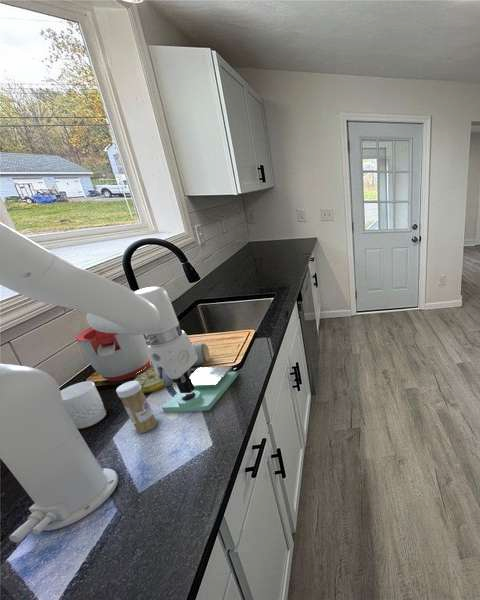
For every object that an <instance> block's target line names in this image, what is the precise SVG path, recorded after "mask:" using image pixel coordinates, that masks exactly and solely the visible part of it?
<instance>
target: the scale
mask: <svg viewBox="0 0 480 600" xmlns="http://www.w3.org/2000/svg"><path fill="white" fill-rule="evenodd" d="M237 377H238V372H237V371H229V372H228V374H227V375H226V376H225V377H224V378H223V379H222V380H221V381H220V383H219V384H218V385H217V386H198V387H194V388H195V389H194V390H192V391H193V393H194V395H195V396H194V398H192V399H190V400H187V401H185V400H184V399H183V394H184V393H180V391H179V390H178V392H176V393H175V394H174V396H173V397H171V398H170V399H169V400H168V401H167V402H166V404H164V405H163V406H162V410H163V413H173V412H174V413H175V412H177V413H179V412H203V411H204V412H206V411H210V410H211V409H212V408H213V407H214V405H215V404H216V403H217V402H218V401H219V399H220V398H221V397H222V396H223V394H224V393H225V392H226V391H227V390H228V388H229V387H230V386H231V385H232V384H233V382H234V381H235V380H236V378H237Z"/></svg>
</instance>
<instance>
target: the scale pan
mask: <svg viewBox="0 0 480 600" xmlns="http://www.w3.org/2000/svg"><path fill="white" fill-rule="evenodd" d="M232 369H233V366H214V367H211V366H209V367H198V368H197V369H196V370H195V371H194V372H192V373H191V377H190V378H191V380H192V383H193V385H194V387H198V386H217V385H218V384H219V383H220V381H221V380H222V379H223V378H224V377H225V376H226V375H227V374H228V372H231V370H232Z"/></svg>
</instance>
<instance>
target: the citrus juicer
mask: <svg viewBox="0 0 480 600" xmlns="http://www.w3.org/2000/svg"><path fill="white" fill-rule="evenodd" d="M75 340H76V341H78V343H79V345H80V347H81V349H82V351H83V352H84V354H85V357H86V358H87V360H88V362H89V364H90V365H91V367H92V368H93V369H94V371H96V372H97V373H98V374H99V375H100V376H101V377H102V378H103V379H105V380H106V379H107V381H109V382H119V381H123V380H124V381H125V380H127V379H130V378H133V377H135V376H139V375H140V374H142V373H144V372H145V370H147V369H148V367H150V362H151V358H150V354H149V348H148V347H149V345H147V344H146V341H147V340H146V337H145V335H144V334H142V335H131V334H116V333H105V332H100V331H97V330H95V329H93V328H92V327H90V326H89V327H88V328H86V329H83V330H81V331H80V332H79V333H78V334H77V335H76V336H75ZM148 364H149V365H148ZM145 367H146V368H145ZM144 368H145V369H144ZM143 369H144V370H143ZM141 370H142V371H141ZM139 371H140V372H139ZM137 372H139V373H137ZM136 373H137V374H136Z"/></svg>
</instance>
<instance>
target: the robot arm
mask: <svg viewBox="0 0 480 600" xmlns="http://www.w3.org/2000/svg"><path fill="white" fill-rule="evenodd" d="M0 286H2V287H5V288H6V289H8V290H11V291H13V292H15V293H17V294H19V295H21V296H23V297H26V298H28V299H31V300H34V301H38V302H41V303H44V304H48V305H53V306H58V307H63V308H68V309H73V310H77V311H81V312H85V313H86V319H85V320H86V322H87V324H88V325H89V328H90V327H92V328H93V329H95V330H97V331H100V332H105V333H116V334H131V335H142V334H143V335H144V337H145V340H146V344H147V345H148V348H149V358H150V362H151V364H152V367H153V369H154V370H155V372H156V374H157V376H158V378H159V379H160V380H162V379H163V383H164V385H166V386H171V385H173V384H176V386H177V388H178V392H179V391H180V393H191V392H192V390H194V389H195V388H194V385H193V383H192V380H191V378H190V377H191V375H192V371H191V370H192V367H193V366H192V365H193V364H194V363H195V362H196V361H197V359H198V357H197V354H196V351H195V349H194V347H193V345H192V344H193V343H192V341H191V339H190V338H189V336H188V334H187V333H186V332H185V331H184V330H182V328H181V325H180V322H179V319H178V318H177V314H176V312H175V309H174V306H173V305H172V301H171V299H170V295H169V294H168V292H167V290H166V289H165V287H162V286H149V287H144V288H140V289H137V290H135V291H134V290H132V289H131V288H129V287H126V286H125V285H123V284H120V283H119V282H116V281H114V280H111V279H109V278H106V277H104V276H102V275H99V274H97V273H94V272H92V271H90V270H88V269H85V268H83V267H80V266H77V265H75V264H73V263H71V262H68V261H67V260H65V259H64V258H62V257H60V256H58V255H56V254H55V253H53V252H52V251H50V250H48V249H46V247H45V248H44V247H43V246H41V245H39V244H38V243H36V242H35V241H33V240H32V239H30V238H27V236H24V235H23V234H21V233H19V232H18V231H16V230H15V229H12V228H11V227H9V226H7V225H6V224H4V223H2V222H1V221H0ZM60 391H61V390H60V386H59V384H58V382H57V381H56V380H55V378H54V377H53V376H52V375H50V374H49V373H46V372H45V371H44V370H41V369H38V368H35V367H32V366H26V365H18V364H8V363H0V459H1V461H2V462H3V464H5V466H6V467H7V468H8V470H9V472H11V474H12V475H13V476H14V478H15V479H16V480H17V482H18V483H19V484H20V486H21V487H22V488H23V490H24V491H25V492H26V493H27V495H28V496H29V497H30V499H31V500H32V501H33V503H32V505H31V506H29V508H28V510H29V512H30V513H31V514H29V515H28V516H27V520H26V521H25V522H23V524H21V525H20V526H19V527H18V528H16V529H15V530H14V531H13V532H12V533H11V534H10V535H9V536H8V539H9V540H10V541H11V542H13V543H21V542H22V541H23V540H24V538H26V537H27V536H28V535H29V534H30V533H33V534H34V535H39V534H41V533H42V531H54V530H58V529H62V528H65V527H68V526H70V525H72V524H74V523H76V522H78V521H80V520H82V519H83V518H85V517H87V516H88V515H90V514H91V513H92V512H94V511H95V510H96V509H98V508H99V507H100V506H101V505H103V504H104V503H105V502H106V501H107V499H108V498H109V497H111V495H112V494H113V492H114V491H115V489H116V487H118V483H119V476H118V474H117V472H116V471H115V469H111V468H107V467H104V468H102V467H101V466H100V464H99V462H98V461H97V459H96V458H95V456H94V454H93V452H92V451H91V449H90V447H89V445H88V444H87V442H86V441H85V439H84V437H83V435H82V434H81V432H80V430H79V429H77V427H76V426H75V424H74V423H73V421H72V419H71V417H70V416H69V414H68V412H67V410H66V408H65V405H64V403H63V400H62V396H61V392H60Z"/></svg>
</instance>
